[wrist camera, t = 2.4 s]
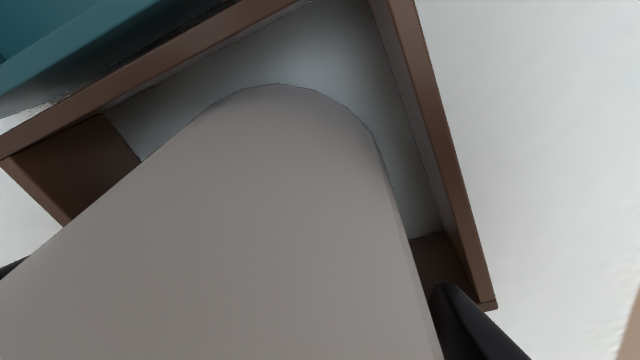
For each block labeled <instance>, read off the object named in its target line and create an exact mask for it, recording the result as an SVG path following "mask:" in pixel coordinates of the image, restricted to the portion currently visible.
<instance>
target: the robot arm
mask: <svg viewBox="0 0 640 360" xmlns="http://www.w3.org/2000/svg"><path fill="white" fill-rule="evenodd" d="M29 256H30V255H29ZM29 256H27V257H24V258H22V259H20V260H18V261H15V262H13V263H11V264H8V265H6V266H4V267H2V268H0V280H1V279H3V278H4V277H5V276H6V275H7V274H9V273H10V272H11V271H12V270H13V269H15V268H16V267H17V266H18V265H19V264H21V263H22V262H23V261H24V260H25V259H27V258H28V257H29ZM428 308H429V311H430V314H431V318H432V321H433V324H434V327H435V331H436V334H437V337H438V340H439V344H440V347H441V350H442V353H443V357H444V360H532V359H531V358H530V357H529V356H528V355H527V354H525V353H524V352H523V351H522V350H521V349H520V348H519V347H518V346H517V345H516V344H515V343H514V342H513V341H512V340H511V339H510V338H509V337H508V336H507V335H506V334H505V333H504V332H503V331H502V330H501V329H500V328H499V327H498V326H497V325H496V324H495V323H494V322H493V321H492V320H491V319H490V318H489V317H488V316H487V315H486V314H485V313H484V312H483V311H482V310H481V309H480V308H479V307H478V306H477V305H476V304H475V303H474V302H473V301H472V300H471V299H470V298H469V297H468V296H467V295H466V294H465V293H464V292H463V291H462V290H461V289H460V288H459V287H458V286H457V285H456V284H454V283H452V282H443V281H438V282H436V283H435V285H434V288H433V290H432V293H431V296H430V298H429V301H428Z"/></svg>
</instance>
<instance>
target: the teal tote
mask: <svg viewBox="0 0 640 360" xmlns="http://www.w3.org/2000/svg"><path fill="white" fill-rule="evenodd" d="M223 1H225V0H0V119H2V118H4V117H7V116H10V115H13V114H16V113H19V112H22V111H24V110H27V109H30V108H33V107H35V106H39V105H41V104H44V103H46V102H48V101H50V100H52V99H53V98H55V97H57V96H59V95H60V94H62V93H64V92H66V91H67V90H69V89H71V88H73V87H74V86H76V85H78V84H80V83H81V82H83V81H85V80H87V79H88V78H90V77H92V76H94V75H95V74H97V73H99V72H101V71H102V70H104V69H106V68H108V67H109V66H111V65H113V64H115V63H116V62H118V61H120V60H122V59H124V58H125V57H127V56H129V55H131V54H132V53H134V52H136V51H138V50H139V49H141V48H143V47H145V46H146V45H148V44H150V43H152V42H153V41H155V40H157V39H159V38H160V37H162V36H164V35H166V34H167V33H169V32H171V31H173V30H174V29H176V28H178V27H180V26H181V25H183V24H185V23H187V22H188V21H190V20H192V19H194V18H195V17H197V16H199V15H201V14H202V13H204V12H206V11H208V10H209V9H211V8H213V7H215V6H216V5H218V4H220V3H222V2H223Z"/></svg>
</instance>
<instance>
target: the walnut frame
mask: <svg viewBox="0 0 640 360" xmlns="http://www.w3.org/2000/svg"><path fill="white" fill-rule="evenodd" d="M311 1H313V0H240V1H238V2H236V3H234V4H233V5H231V6H229V7H227V8H226V9H224V10H222V11H220V12H218V13H217V14H215V15H213V16H211V17H210V18H208V19H206V20H204V21H202V22H201V23H199V24H197V25H195V26H194V27H192V28H190V29H188V30H186V31H185V32H183V33H181V34H179V35H178V36H176V37H174V38H172V39H170V40H169V41H167V42H165V43H163V44H162V45H160V46H158V47H156V48H154V49H153V50H151V51H149V52H147V53H146V54H144V55H142V56H140V57H139V58H137V59H135V60H133V61H131V62H130V63H128V64H126V65H124V66H123V67H121V68H119V69H117V70H115V71H114V72H112V73H110V74H108V75H107V76H105V77H103V78H101V79H99V80H98V81H96V82H94V83H92V84H91V85H89V86H87V87H85V88H83V89H82V90H80V91H78V92H76V93H75V94H73V95H71V96H69V97H68V98H66V99H64V100H62V101H60V102H59V103H57V104H55V105H53V106H52V107H50V108H48V109H46V110H44V111H43V112H41V113H39V114H37V115H36V116H34V117H32V118H30V119H28V120H27V121H25V122H23V123H21V124H20V125H18V126H16V127H14V128H12V129H11V130H9V131H7V132H5V133H4V134H2V135H0V167H1V168H2V169H3V170H4V171H5V172H6V173H7V174H8V175H9V176H10V177H11V178H12V179H13V180H15V181H16V182H17V183H18V184H19V185H20V186H21V187H22V188H23V189H24V190H25V191H26V192H27V193H28V194H29V195H30V196H31V197H32V198H33V199H34V200H35V201H36V202H37V203H38V204H39V205H41V206H42V207H43V208H44V209H45V210H46V211H47V212H48V213H49V214H50V215H51V216H52V217H53V218H54V219H55V220H56V221H57V222H58V223H59V224H60V225H61V226H62V227H63V228H64V227H65V226H66V225H67V224H69V223H70V222H71V221H72V220H73V219H75V218H76V217H77V216H78V215H80V214H81V213H82V212H83V211H84V210H86V209H87V208H88V207H89V206H90V205H92V204H93V203H94V202H95V201H96V200H98V199H99V198H100V197H101V196H102V195H104V194H105V193H106V192H107V191H108V190H110V189H111V188H112V187H113V186H114V185H116V184H117V183H118V182H119V181H120V180H122V179H123V178H124V177H125V176H126V175H128V174H129V173H130V172H131V171H132V170H134V169H135V168H136V167H137V166H138V165H140V164H141V162H140V160H139V159H138V158H137V157H136V155H135V154H134V153H133V152H132V150H131V149H130V148H129V147H128V145H127V144H126V143H125V142H124V140H123V139H122V138H121V137H120V135H119V134H118V133H117V132H116V130H115V129H114V128H113V127H112V125H111V124H110V123H109V121H108V120H107V119H106V118H105V116H104V115H103V114H102V113H101V112H103V111H105V110H107V109H109V108H111V107H112V106H114V105H116V104H118V103H120V102H122V101H124V100H126V99H128V98H129V97H131V96H133V95H135V94H137V93H139V92H141V91H143V90H145V89H146V88H148V87H150V86H152V85H154V84H156V83H158V82H160V81H162V80H163V79H165V78H167V77H169V76H171V75H173V74H175V73H177V72H179V71H180V70H182V69H184V68H186V67H188V66H190V65H192V64H194V63H196V62H197V61H199V60H201V59H203V58H205V57H207V56H209V55H211V54H213V53H214V52H216V51H218V50H220V49H222V48H224V47H226V46H228V45H230V44H231V43H233V42H235V41H237V40H239V39H241V38H243V37H245V36H247V35H249V34H250V33H252V32H254V31H256V30H258V29H260V28H262V27H264V26H266V25H267V24H269V23H271V22H273V21H275V20H277V19H279V18H281V17H283V16H284V15H286V14H288V13H290V12H292V11H294V10H296V9H298V8H300V7H301V6H303V5H305V4H307V3H309V2H311ZM368 1H369V4H370V7H371V10H372V13H373V16H374V19H375V22H376V25H377V28H378V31H379V34H380V37H381V40H382V43H383V46H384V49H385V52H386V55H387V58H388V61H389V64H390V67H391V70H392V73H393V76H394V79H395V82H396V85H397V88H398V91H399V94H400V97H401V100H402V103H403V106H404V109H405V112H406V115H407V118H408V121H409V124H410V127H411V130H412V133H413V136H414V139H415V142H416V145H417V148H418V151H419V154H420V157H421V160H422V163H423V166H424V169H425V172H426V175H427V178H428V181H429V184H430V187H431V190H432V193H433V196H434V199H435V202H436V205H437V208H438V211H439V214H440V217H441V219H442V222H443V225H444V228H445V230H443V231H440V232H437V233H434V234H430V235H427V236H424V237H421V238H417V239H414V240H411V241H408V242H409V246H410V249H411V252H412V255H413V259H414V262H415V265H416V269H417V272H418V275H419V278H420V282H421V285H422V288H423V291H424V295H425V298H426V301H427V304H428V301H429V298H430V296H431V293H432V290H433V288H434V285H435V283H436V282H438V281H443V282H452V283H454V284H456V285H457V286H458V287H459V288H460V289H461V290H462V291H463V292H464V293H465V294H466V295H467V296H468V297H469V298H470V299H471V300H472V301H473V302H474V303H475V304H476V305H477V306H478V307H479V308H480V309H481V310H482V311H483V312H487V311H492V310H496V309H498V305H497V301H496V298H495V294H494V290H493V286H492V283H491V279H490V275H489V272H488V268H487V264H486V261H485V257H484V254H483V250H482V246H481V243H480V239H479V235H478V232H477V228H476V224H475V221H474V217H473V213H472V210H471V206H470V202H469V199H468V195H467V192H466V188H465V184H464V181H463V177H462V173H461V170H460V166H459V162H458V159H457V155H456V151H455V148H454V144H453V140H452V137H451V133H450V130H449V126H448V122H447V119H446V115H445V111H444V108H443V104H442V100H441V97H440V93H439V89H438V86H437V82H436V79H435V75H434V71H433V68H432V64H431V60H430V57H429V53H428V49H427V46H426V42H425V38H424V35H423V31H422V27H421V24H420V20H419V17H418V13H417V9H416V6H415V2H414V0H368Z"/></svg>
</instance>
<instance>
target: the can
mask: <svg viewBox="0 0 640 360" xmlns="http://www.w3.org/2000/svg"><path fill="white" fill-rule="evenodd" d="M0 360H444V357H443V353H442V350H441V347H440V344H439V340H438V337H437V334H436V331H435V327H434V324H433V321H432V318H431V314H430V311H429V308H428V304H427V301H426V298H425V295H424V291H423V288H422V285H421V282H420V278H419V275H418V272H417V269H416V265H415V262H414V259H413V255H412V252H411V249H410V246H409V242H408V239H407V236H406V233H405V229H404V226H403V223H402V220H401V216H400V213H399V210H398V206H397V203H396V200H395V197H394V193H393V190H392V187H391V184H390V180H389V177H388V174H387V170H386V167H385V164H384V161H383V159H382V156H381V154H380V152H379V150H378V147H377V145H376V143H375V141H374V138H373V136H372V134H371V132H370V131H369V130H368V129H367V128H366V127H365V126H364V125H363V124H362V123H361V122H360V120H359V119H358V118H357V117H356V116H355V115H354V114H353V113H352V112H351V111H350V110H349V109H348V108H347V107H345V106H343V105H342V104H340V103H338V102H336V101H334V100H332V99H330V98H328V97H327V96H325V95H323V94H321V93H319V92H317V91H315V90H311V89H306V88H300V87H294V86H289V85H283V84H271V85H264V86H257V87H250V88H243V89H240V90H238V91H236V92H234V93H233V94H231V95H229V96H227V97H225V98H223V99H221V100H219V101H218V102H216V103H214V104H212V105H211V106H209V107H208V108H207V109H206V110H205V111H203V112H202V113H201V114H200V115H199V116H197V117H196V118H195V119H194V120H193V121H191V122H190V123H189V124H188V125H187V126H185V127H184V128H183V129H182V130H181V131H179V132H178V133H177V134H176V135H175V136H173V137H172V138H171V139H170V140H169V141H167V142H166V143H165V144H164V145H162V146H161V147H160V148H159V149H158V150H156V151H155V152H154V153H153V154H152V155H150V156H149V157H148V158H147V159H146V160H144V161H143V162H142V163H141V164H140V165H138V166H137V167H136V168H135V169H134V170H132V171H131V172H130V173H129V174H128V175H126V176H125V177H124V178H123V179H122V180H120V181H119V182H118V183H117V184H116V185H114V186H113V187H112V188H111V189H110V190H108V191H107V192H106V193H105V194H104V195H102V196H101V197H100V198H99V199H98V200H96V201H95V202H94V203H93V204H92V205H90V206H89V207H88V208H87V209H86V210H84V211H83V212H82V213H81V214H80V215H78V216H77V217H76V218H75V219H73V220H72V221H71V222H70V223H69V224H67V225H66V226H65V227H64V228H63V229H61V230H60V231H59V232H58V233H57V234H55V235H54V236H53V237H52V238H51V239H49V240H48V241H47V242H46V243H45V244H43V245H42V246H41V247H40V248H39V249H37V250H36V251H35V252H34V253H33V254H31V255H30V256H29V257H28V258H27V259H25V260H24V261H23V262H22V263H21V264H19V265H18V266H17V267H16V268H15V269H13V270H12V271H11V272H10V273H9V274H7V275H6V276H5V277H4V278H3V279H1V280H0Z"/></svg>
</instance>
